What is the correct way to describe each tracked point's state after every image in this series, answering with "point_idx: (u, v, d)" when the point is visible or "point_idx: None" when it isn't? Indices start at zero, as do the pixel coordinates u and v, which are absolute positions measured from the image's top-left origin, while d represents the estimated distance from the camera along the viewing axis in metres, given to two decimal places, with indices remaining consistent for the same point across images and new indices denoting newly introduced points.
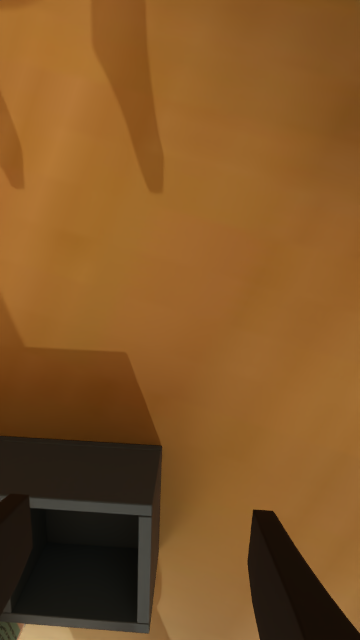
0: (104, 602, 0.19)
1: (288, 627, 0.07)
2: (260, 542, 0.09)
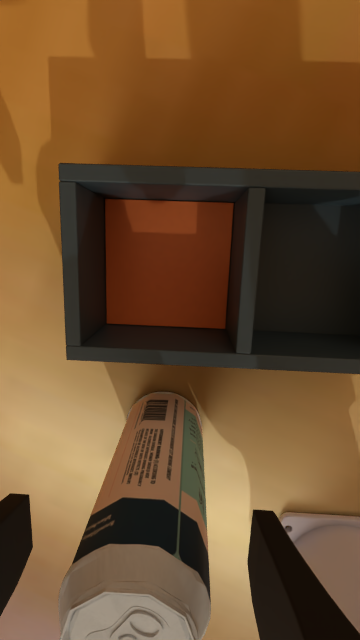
0: (353, 353, 0.15)
1: (288, 627, 0.07)
2: (260, 542, 0.09)
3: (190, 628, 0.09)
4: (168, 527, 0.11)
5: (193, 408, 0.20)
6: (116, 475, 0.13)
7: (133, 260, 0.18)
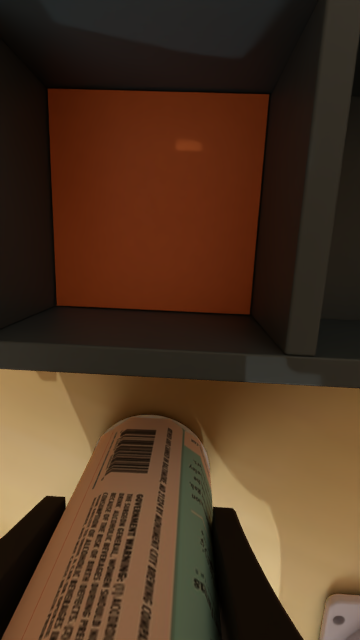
0: None
1: (230, 622, 0.07)
2: (215, 539, 0.09)
3: None
4: None
5: (196, 442, 0.12)
6: (29, 624, 0.06)
7: (98, 198, 0.11)
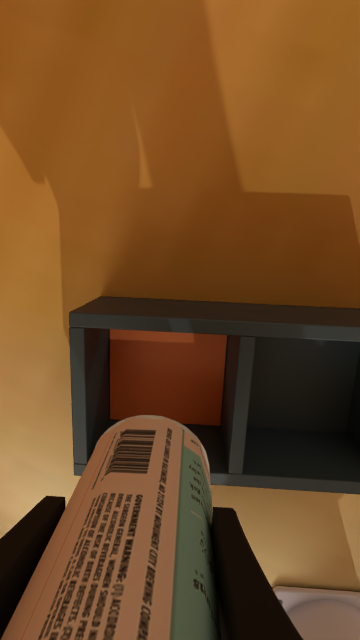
0: (336, 468, 0.17)
1: (230, 622, 0.07)
2: (215, 539, 0.09)
3: None
4: None
5: (196, 442, 0.12)
6: (28, 624, 0.06)
7: (135, 364, 0.19)
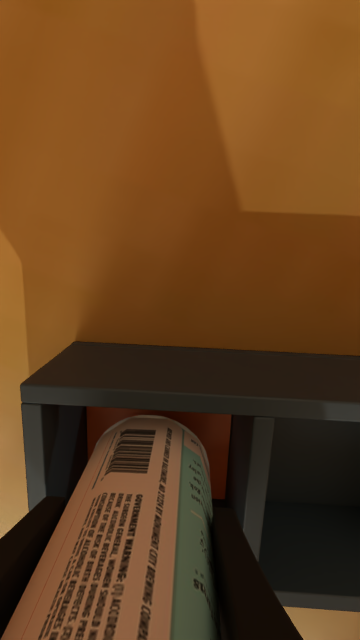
0: None
1: (230, 622, 0.07)
2: (215, 539, 0.09)
3: None
4: None
5: (196, 442, 0.12)
6: (28, 624, 0.06)
7: None
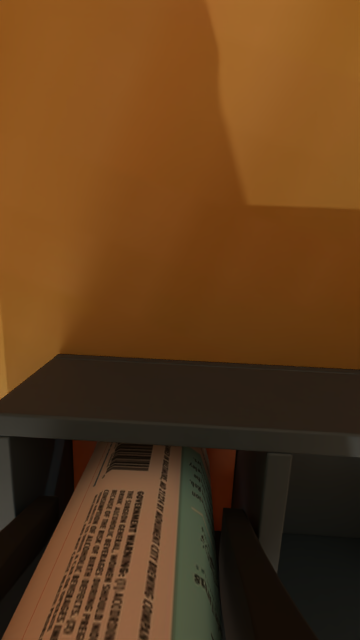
0: None
1: (245, 624, 0.07)
2: (227, 540, 0.09)
3: None
4: None
5: None
6: (31, 618, 0.06)
7: None
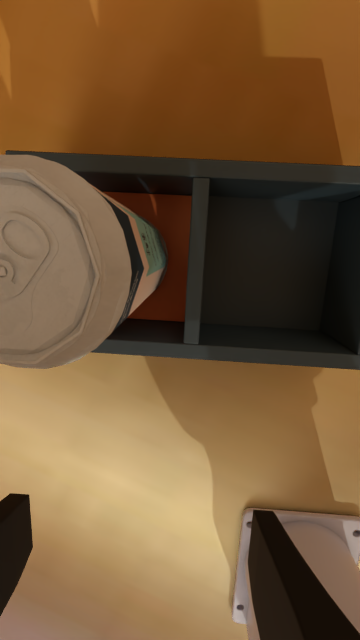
0: (303, 345, 0.15)
1: (288, 627, 0.07)
2: (260, 542, 0.09)
3: (88, 239, 0.06)
4: None
5: (157, 230, 0.17)
6: None
7: None
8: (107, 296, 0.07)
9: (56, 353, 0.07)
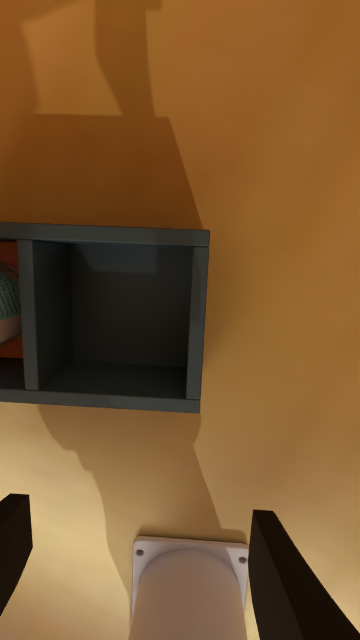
0: (145, 388, 0.16)
1: (288, 627, 0.07)
2: (260, 542, 0.09)
3: None
4: None
5: None
6: None
7: None
8: None
9: None
